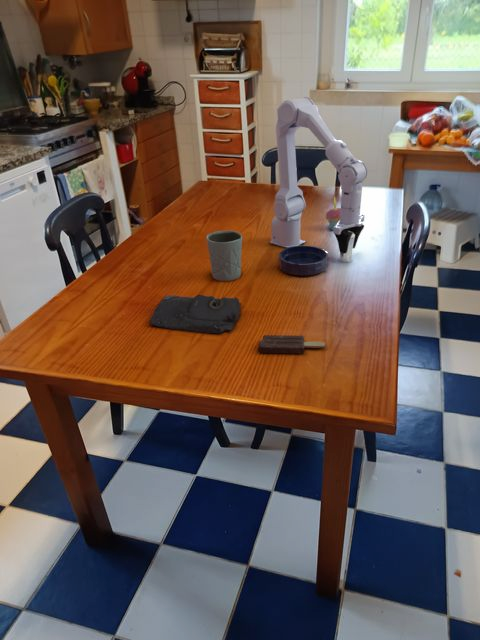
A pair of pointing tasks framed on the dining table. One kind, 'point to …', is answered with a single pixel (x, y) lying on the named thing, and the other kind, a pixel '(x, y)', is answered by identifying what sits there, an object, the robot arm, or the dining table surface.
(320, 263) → the bowl
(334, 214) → the cupcake
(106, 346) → the dining table surface
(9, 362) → the dining table surface
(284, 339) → the ice cream bar
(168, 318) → the black snap pouch
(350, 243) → the milkshake
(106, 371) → the dining table surface
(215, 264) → the grey green cup
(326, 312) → the dining table surface
